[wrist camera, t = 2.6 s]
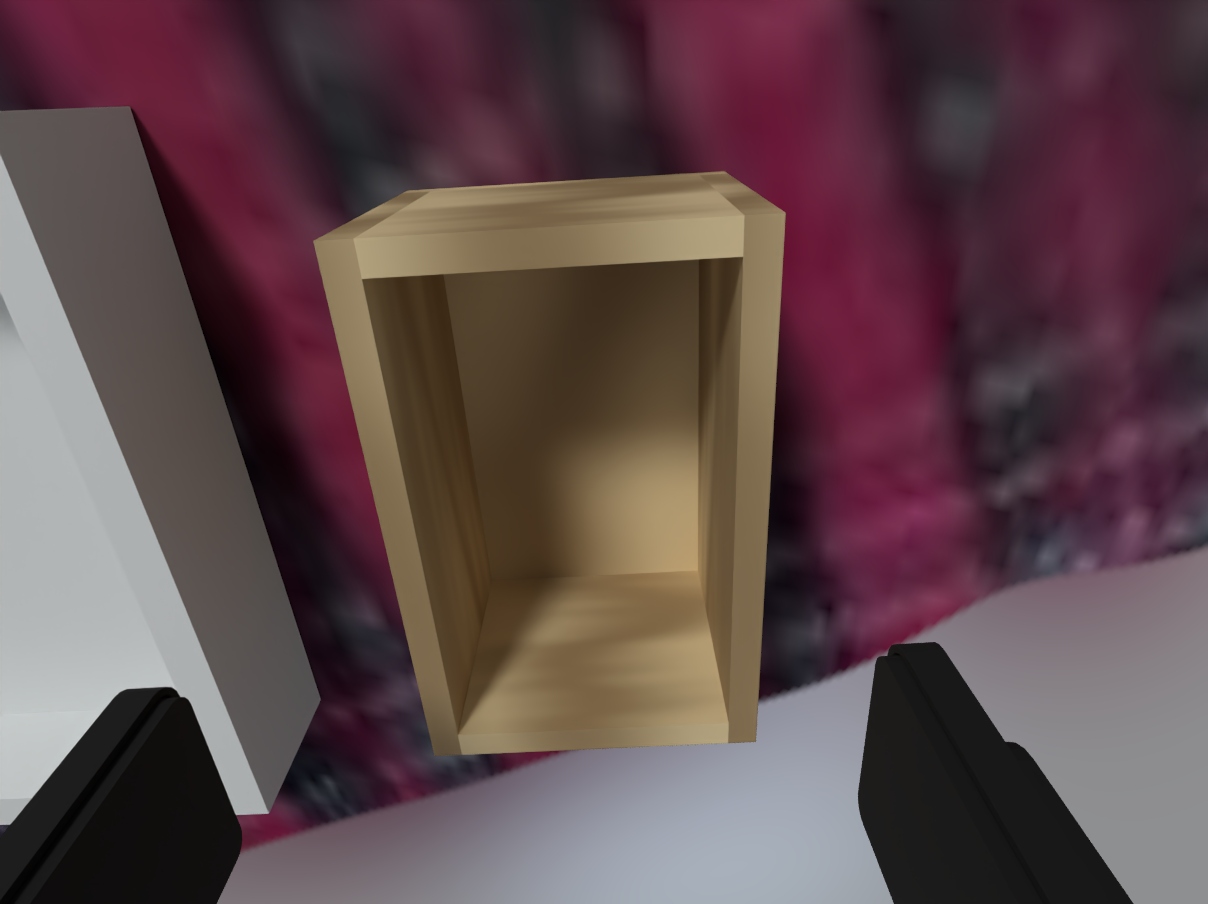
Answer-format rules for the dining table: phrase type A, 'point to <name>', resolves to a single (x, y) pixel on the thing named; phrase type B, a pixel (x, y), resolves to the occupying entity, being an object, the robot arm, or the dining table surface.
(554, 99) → the dining table surface
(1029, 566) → the dining table surface
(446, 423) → the pine crate
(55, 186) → the white tray
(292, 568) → the dining table surface
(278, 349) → the dining table surface
